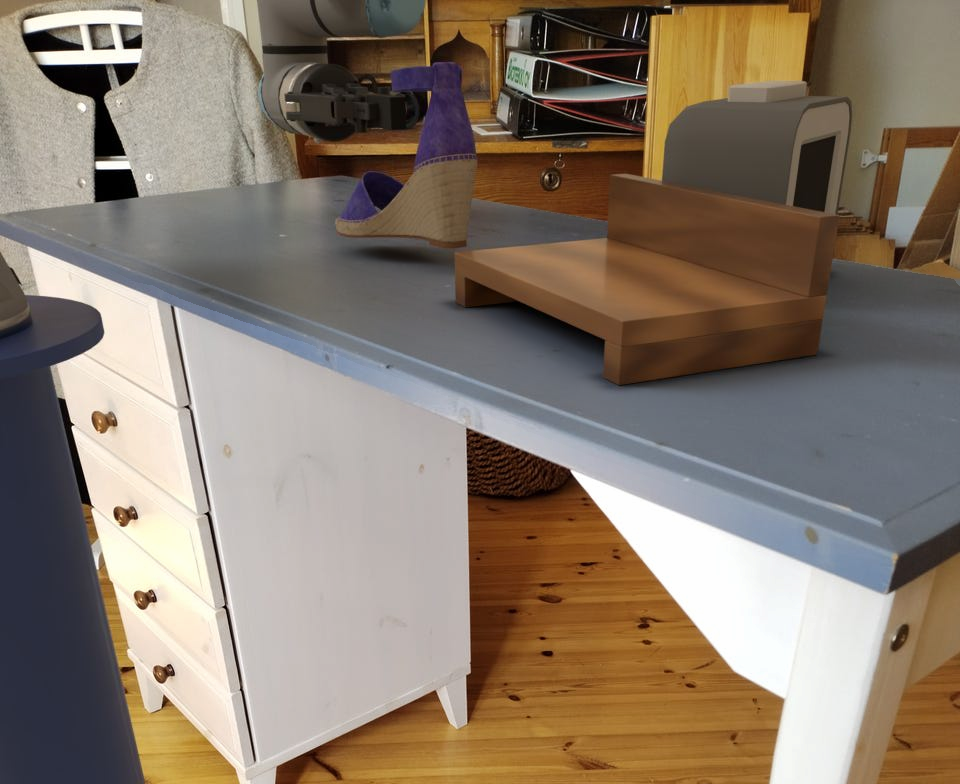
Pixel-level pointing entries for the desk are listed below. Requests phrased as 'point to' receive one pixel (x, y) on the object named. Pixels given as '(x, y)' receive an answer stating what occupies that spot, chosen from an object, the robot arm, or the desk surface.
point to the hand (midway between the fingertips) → (398, 113)
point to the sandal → (423, 171)
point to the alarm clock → (763, 145)
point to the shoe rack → (674, 280)
